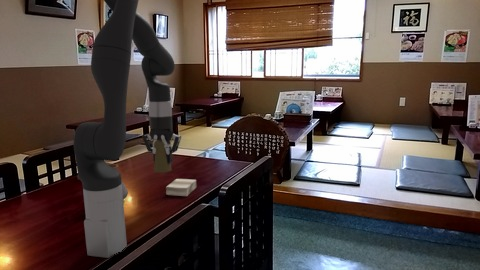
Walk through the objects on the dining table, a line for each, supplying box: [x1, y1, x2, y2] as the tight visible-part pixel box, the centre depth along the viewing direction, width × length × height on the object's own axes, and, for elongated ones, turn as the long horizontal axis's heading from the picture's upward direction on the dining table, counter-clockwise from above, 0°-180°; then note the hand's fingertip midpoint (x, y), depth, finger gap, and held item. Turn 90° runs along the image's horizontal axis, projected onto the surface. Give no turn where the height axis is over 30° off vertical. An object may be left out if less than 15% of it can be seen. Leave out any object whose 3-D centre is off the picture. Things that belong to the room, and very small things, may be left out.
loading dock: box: [165, 178, 197, 197], centre depth 137 cm, size 10×8×3 cm
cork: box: [153, 140, 173, 174], centre depth 125 cm, size 6×6×11 cm
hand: (163, 163), depth 126 cm, fingers closed on cork, 3 cm apart
